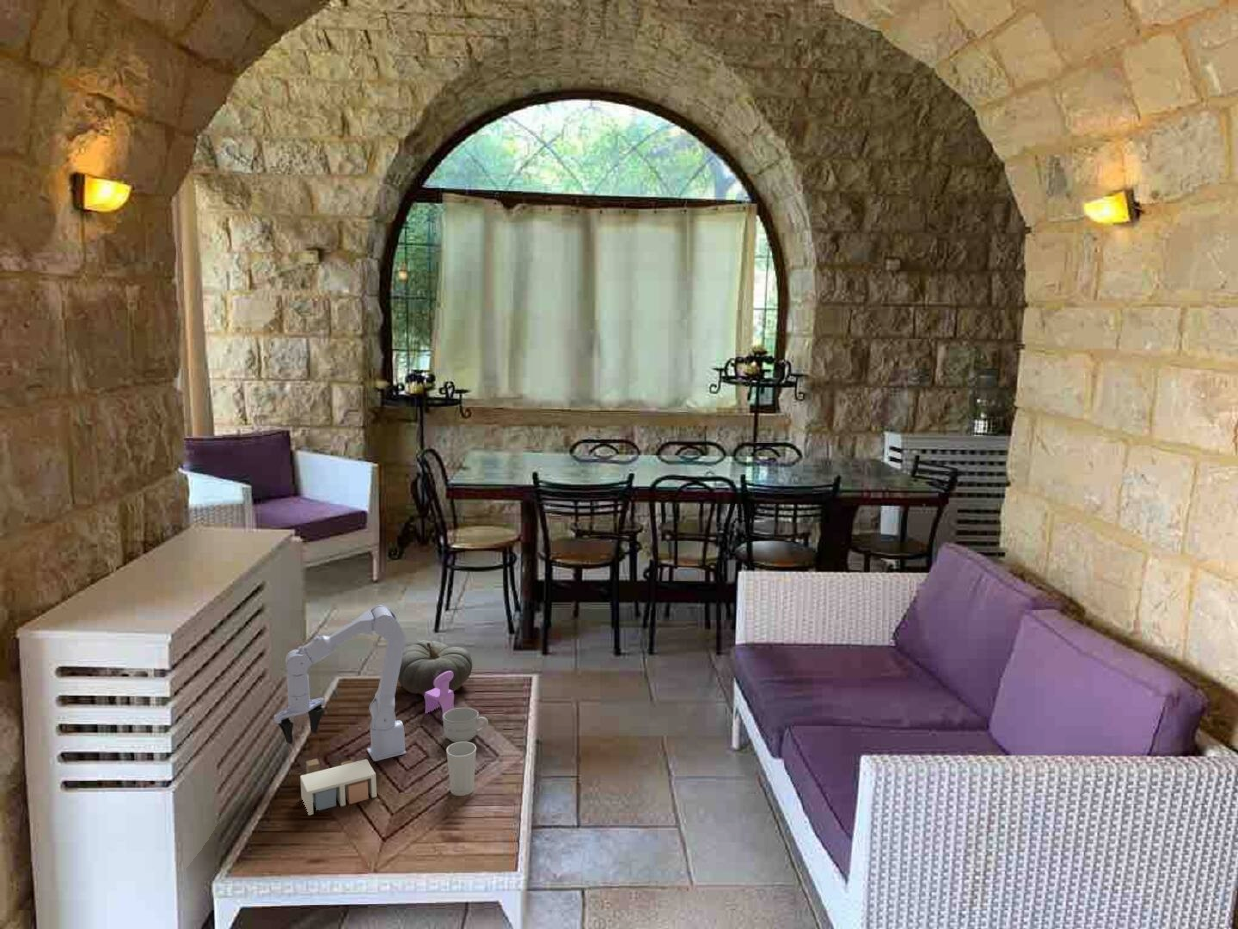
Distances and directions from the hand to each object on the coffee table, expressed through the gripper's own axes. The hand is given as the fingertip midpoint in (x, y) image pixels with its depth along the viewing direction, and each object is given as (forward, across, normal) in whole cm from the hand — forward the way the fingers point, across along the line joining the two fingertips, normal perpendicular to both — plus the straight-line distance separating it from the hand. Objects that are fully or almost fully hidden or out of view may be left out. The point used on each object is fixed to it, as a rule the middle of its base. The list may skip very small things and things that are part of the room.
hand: (301, 737), depth 243 cm
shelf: (+10, +2, +21) cm, 23 cm away
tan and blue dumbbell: (+9, +4, +15) cm, 18 cm away
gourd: (+10, -58, -13) cm, 60 cm away
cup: (+10, -22, +43) cm, 49 cm away
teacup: (+10, -41, +22) cm, 48 cm away
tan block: (+9, -2, +21) cm, 23 cm away
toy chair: (+10, -47, +3) cm, 48 cm away
